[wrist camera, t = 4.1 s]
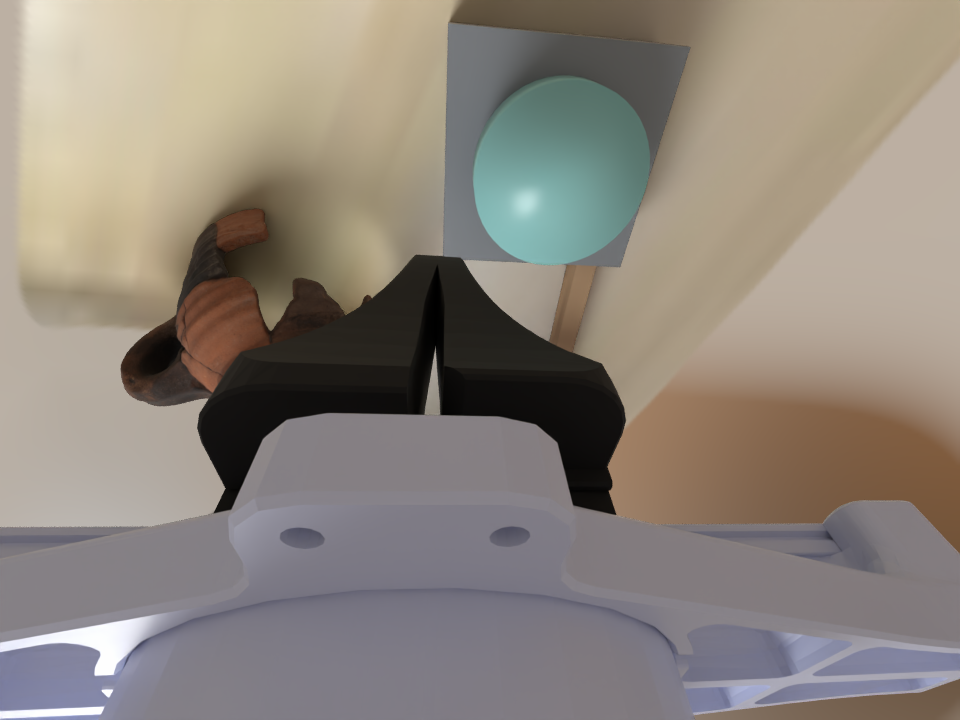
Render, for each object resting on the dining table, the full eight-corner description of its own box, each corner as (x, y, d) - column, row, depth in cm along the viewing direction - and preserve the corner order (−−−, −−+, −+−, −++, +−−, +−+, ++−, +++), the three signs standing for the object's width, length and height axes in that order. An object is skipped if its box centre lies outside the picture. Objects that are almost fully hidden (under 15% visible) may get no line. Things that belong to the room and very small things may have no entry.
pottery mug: (307, 162, 19) (357, 303, 15) (379, 281, 27) (422, 388, 24) (49, 269, 18) (42, 441, 15) (206, 356, 27) (225, 477, 23)
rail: (546, 414, 29) (550, 431, 28) (532, 414, 29) (535, 430, 28) (597, 219, 20) (606, 231, 19) (577, 218, 20) (585, 230, 19)
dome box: (601, 239, 21) (620, 267, 19) (444, 231, 20) (443, 258, 18) (656, 42, 16) (690, 46, 14) (448, 22, 15) (448, 23, 13)
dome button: (591, 225, 20) (620, 268, 16) (465, 218, 19) (468, 261, 16) (630, 73, 16) (677, 89, 13) (474, 59, 15) (481, 71, 12)
